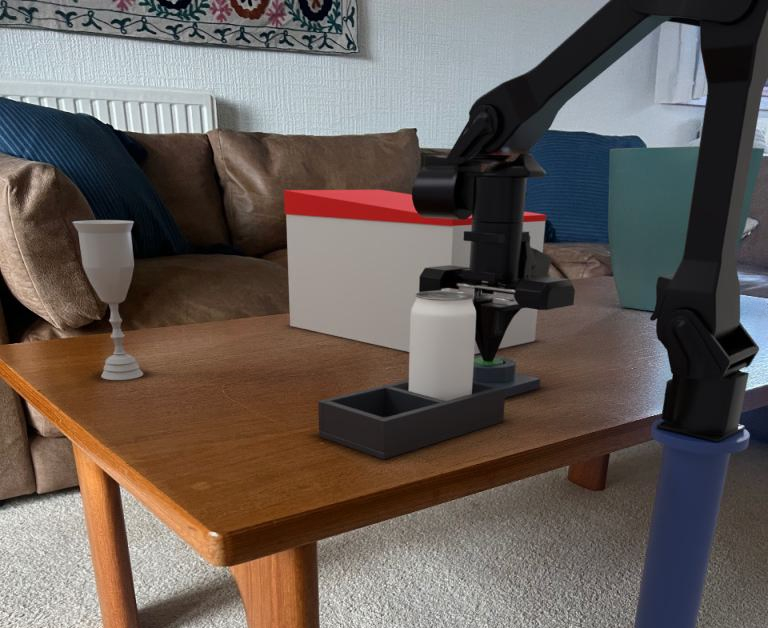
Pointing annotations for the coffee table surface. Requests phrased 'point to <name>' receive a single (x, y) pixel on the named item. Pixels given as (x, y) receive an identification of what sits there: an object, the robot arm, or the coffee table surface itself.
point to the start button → (488, 362)
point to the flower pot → (654, 216)
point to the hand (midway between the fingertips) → (488, 360)
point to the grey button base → (505, 377)
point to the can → (442, 344)
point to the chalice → (110, 281)
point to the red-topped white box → (375, 263)
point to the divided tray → (406, 417)
